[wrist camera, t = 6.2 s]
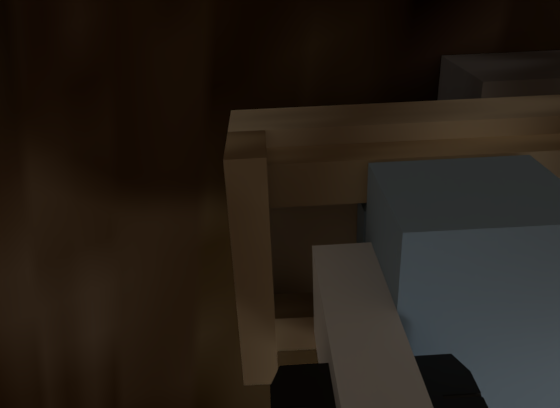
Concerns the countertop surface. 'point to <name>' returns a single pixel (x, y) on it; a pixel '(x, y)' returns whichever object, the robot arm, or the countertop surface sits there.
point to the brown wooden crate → (359, 178)
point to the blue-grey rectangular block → (474, 267)
